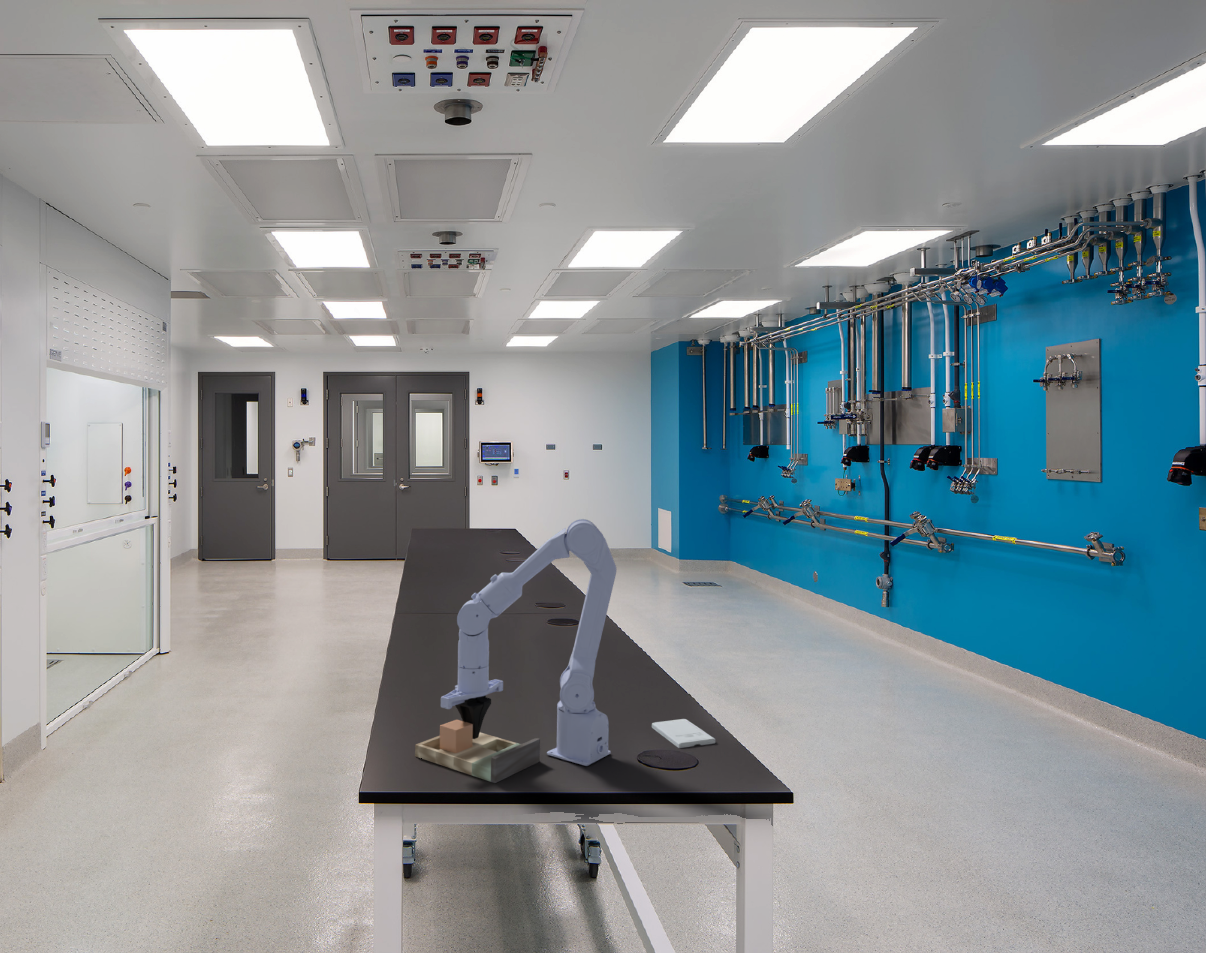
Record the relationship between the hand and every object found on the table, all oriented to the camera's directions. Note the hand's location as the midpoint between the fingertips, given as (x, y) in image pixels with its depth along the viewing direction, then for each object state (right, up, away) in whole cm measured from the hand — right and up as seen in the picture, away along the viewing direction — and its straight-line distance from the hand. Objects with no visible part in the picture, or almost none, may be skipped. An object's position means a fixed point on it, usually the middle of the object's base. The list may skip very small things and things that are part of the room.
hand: (472, 737), depth 145 cm
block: (-3, -1, -3) cm, 4 cm away
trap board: (+1, -3, -2) cm, 4 cm away
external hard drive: (+41, -5, +12) cm, 43 cm away
